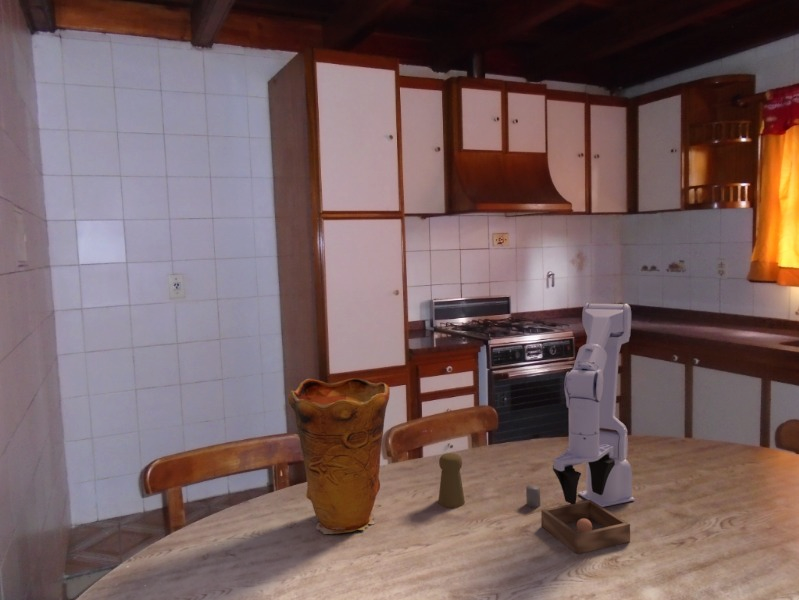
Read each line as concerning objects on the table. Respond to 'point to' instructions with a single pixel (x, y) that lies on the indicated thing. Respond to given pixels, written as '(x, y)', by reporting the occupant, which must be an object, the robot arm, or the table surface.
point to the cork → (451, 481)
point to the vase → (341, 448)
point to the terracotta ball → (584, 525)
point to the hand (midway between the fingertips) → (584, 497)
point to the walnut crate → (591, 540)
